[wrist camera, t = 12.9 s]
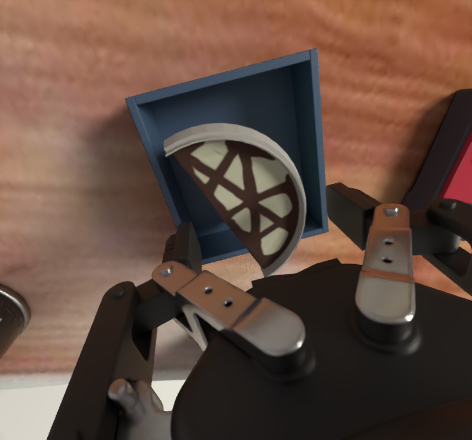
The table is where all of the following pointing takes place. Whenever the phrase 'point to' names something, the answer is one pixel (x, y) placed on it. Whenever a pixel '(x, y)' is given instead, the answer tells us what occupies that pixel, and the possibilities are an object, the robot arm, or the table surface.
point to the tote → (244, 114)
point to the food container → (246, 187)
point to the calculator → (447, 159)
